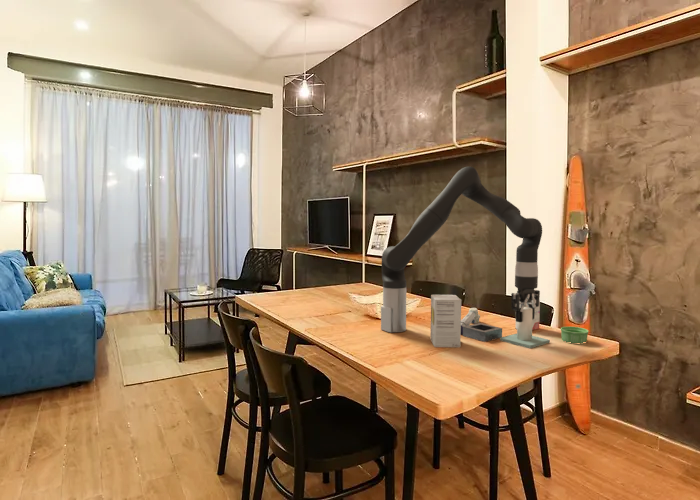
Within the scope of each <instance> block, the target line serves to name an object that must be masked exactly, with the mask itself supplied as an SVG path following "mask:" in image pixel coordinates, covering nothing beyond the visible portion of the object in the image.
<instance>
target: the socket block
mask: <svg viewBox="0 0 700 500" xmlns="http://www.w3.org/2000/svg"><path fill="white" fill-rule="evenodd" d="M462 336H463V337H466V338H469V339H471V340H472V339H473V340H476V341H480V342H484V343H487V342H491V341H494V340H497V339H500V338H501V337H503V327H499V326H495V325H491V324H488V323H487V324H486V323H483V322H482V323H481V322H479V323H472V324H470V325H469V326H464V327H463V334H462Z"/></svg>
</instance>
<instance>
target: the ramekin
mask: <svg viewBox="0 0 700 500" xmlns="http://www.w3.org/2000/svg"><path fill="white" fill-rule="evenodd" d="M560 331H561V334H560V335H561V341H563V342H564V341H566V342H565V343H567V342H571V343H570V344H572V343H583V342H586V341H587V342H588V336H589V329H586V328H584V327H579V326H569V325H568V326H562V327H561V328H560ZM587 342H586V343H587Z"/></svg>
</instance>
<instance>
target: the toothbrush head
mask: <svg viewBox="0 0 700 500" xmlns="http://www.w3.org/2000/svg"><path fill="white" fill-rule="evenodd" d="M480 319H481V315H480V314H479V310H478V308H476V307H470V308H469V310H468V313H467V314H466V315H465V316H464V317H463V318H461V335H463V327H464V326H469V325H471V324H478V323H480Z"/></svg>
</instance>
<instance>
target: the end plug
mask: <svg viewBox="0 0 700 500" xmlns="http://www.w3.org/2000/svg"><path fill="white" fill-rule="evenodd" d="M522 312H523V319H522V322H517V329H516V333H517V339H519V340H524V341H529V340H532V336H533V330H532V308H528V307H524V308H523V311H522Z"/></svg>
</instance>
